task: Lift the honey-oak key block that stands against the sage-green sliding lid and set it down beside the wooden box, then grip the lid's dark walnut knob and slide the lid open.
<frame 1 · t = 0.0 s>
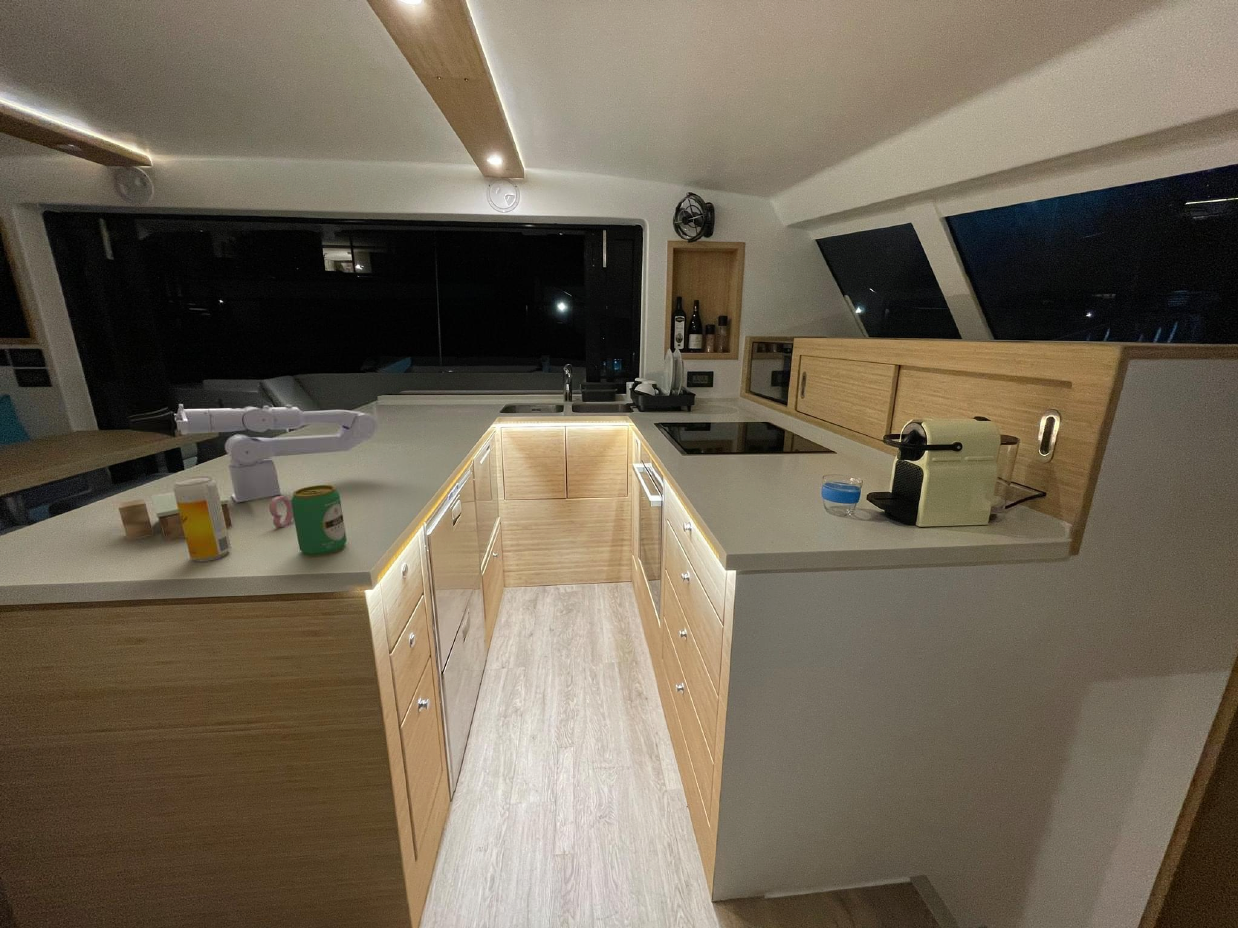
hand: (130, 423, 110), 22 cm above the countertop, tool horizontal, fingers open, 7 cm apart
beverage can: (324, 549, 98), on the countertop
oak key block: (140, 534, 105), on the countertop
wooden box: (195, 522, 111), on the countertop
beer can: (211, 556, 95), on the countertop
lid: (187, 493, 109), point 7 cm above the countertop, slide at 0.0 cm
decorative key: (306, 515, 117), on the countertop
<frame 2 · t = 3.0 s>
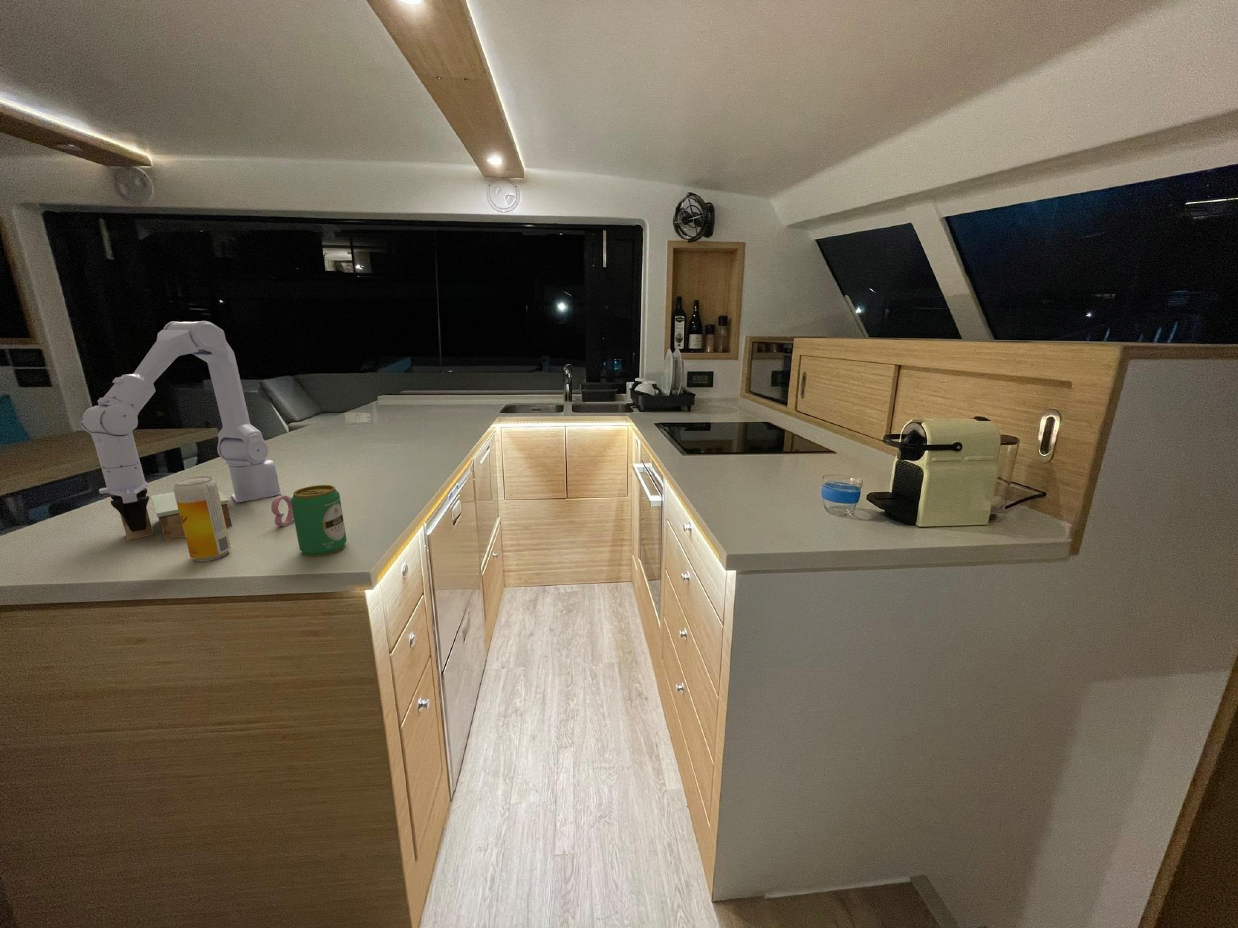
hand: (138, 527, 105), 2 cm above the countertop, tool pointing down, fingers closed on oak key block, 4 cm apart
oak key block: (140, 534, 105), on the countertop, touching gripper
everything else where it was.
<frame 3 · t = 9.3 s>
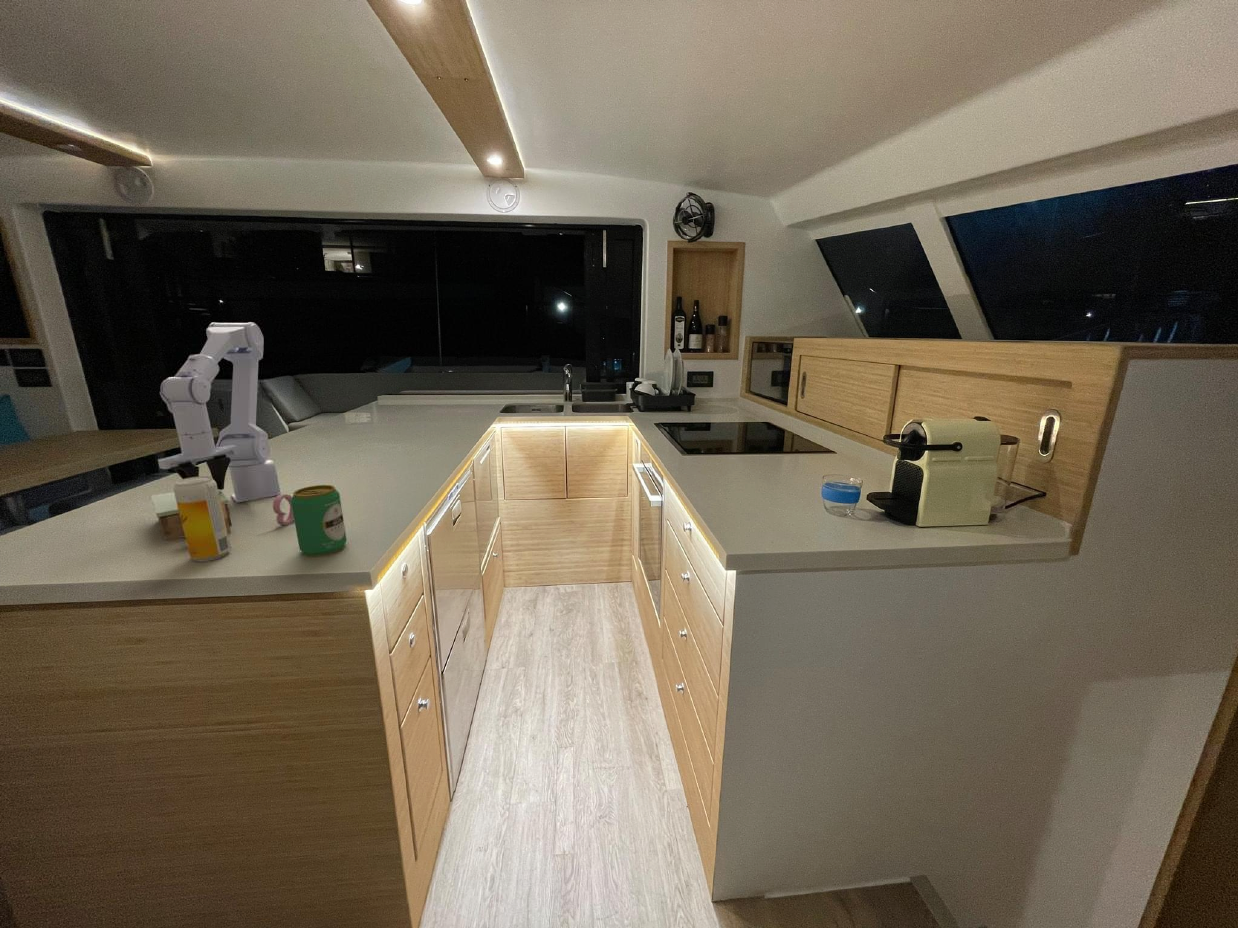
hand: (208, 492, 112), 6 cm above the countertop, tool pointing down, fingers closed on lid, 4 cm apart
oak key block: (214, 536, 104), on the countertop
lid: (187, 493, 109), point 7 cm above the countertop, slide at 0.0 cm, touching gripper
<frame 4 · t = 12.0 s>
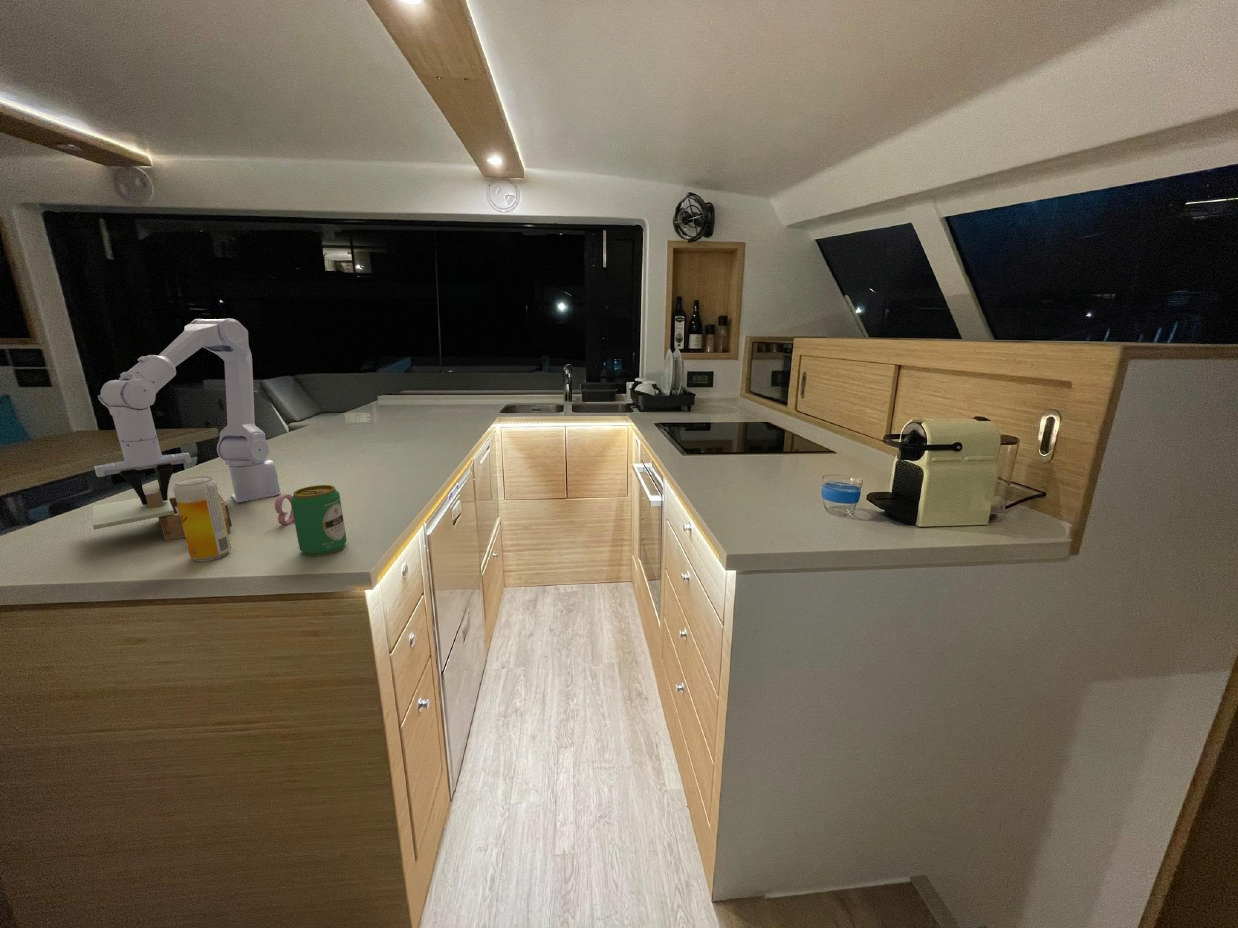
hand: (155, 501, 106), 6 cm above the countertop, tool pointing down, fingers closed on lid, 2 cm apart
lid: (131, 503, 103), point 7 cm above the countertop, slide at 9.0 cm, touching gripper
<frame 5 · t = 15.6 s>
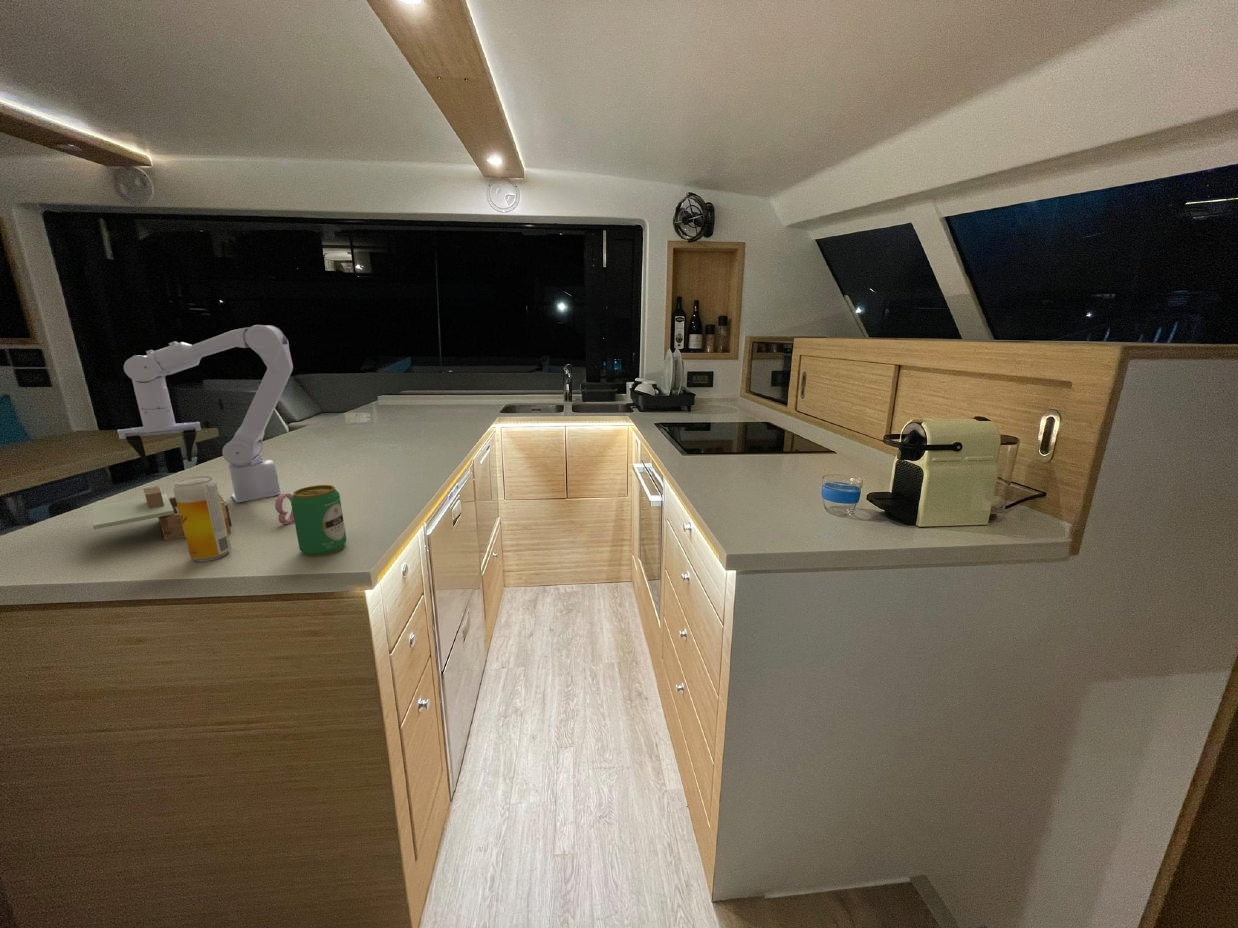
hand: (169, 463, 121), 10 cm above the countertop, tool pointing down, fingers open, 7 cm apart
lid: (131, 502, 103), point 7 cm above the countertop, slide at 9.0 cm
at the end: lid slide at 9.0 cm; oak key block inside the target area (0.4 cm from its centre), on the countertop; oak key block tilted 0° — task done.
